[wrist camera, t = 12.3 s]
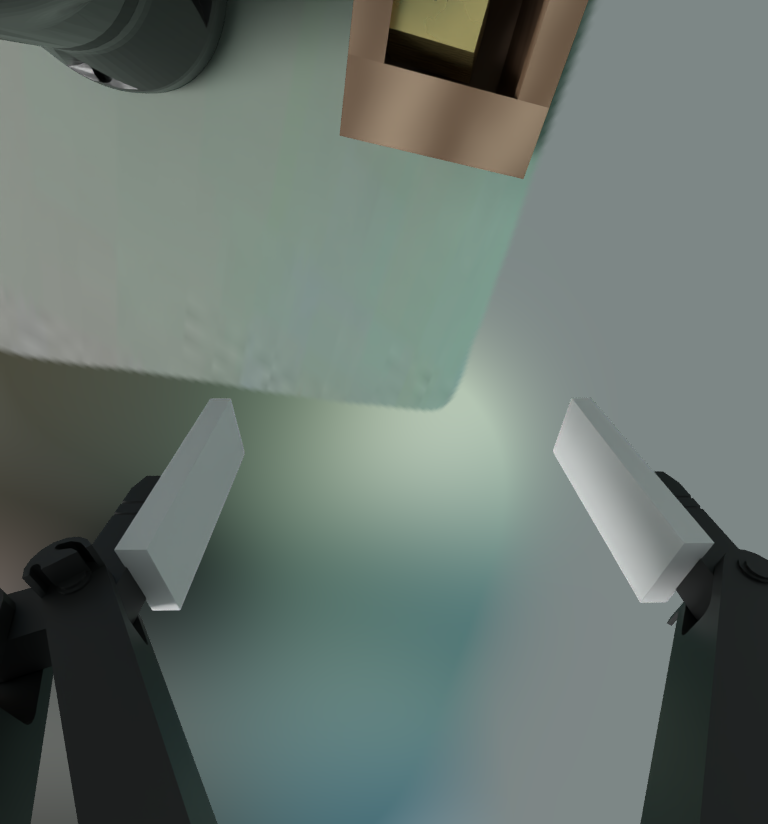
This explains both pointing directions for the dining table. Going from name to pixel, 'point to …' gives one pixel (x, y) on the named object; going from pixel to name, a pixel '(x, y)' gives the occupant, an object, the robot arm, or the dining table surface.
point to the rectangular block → (438, 35)
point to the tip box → (461, 86)
